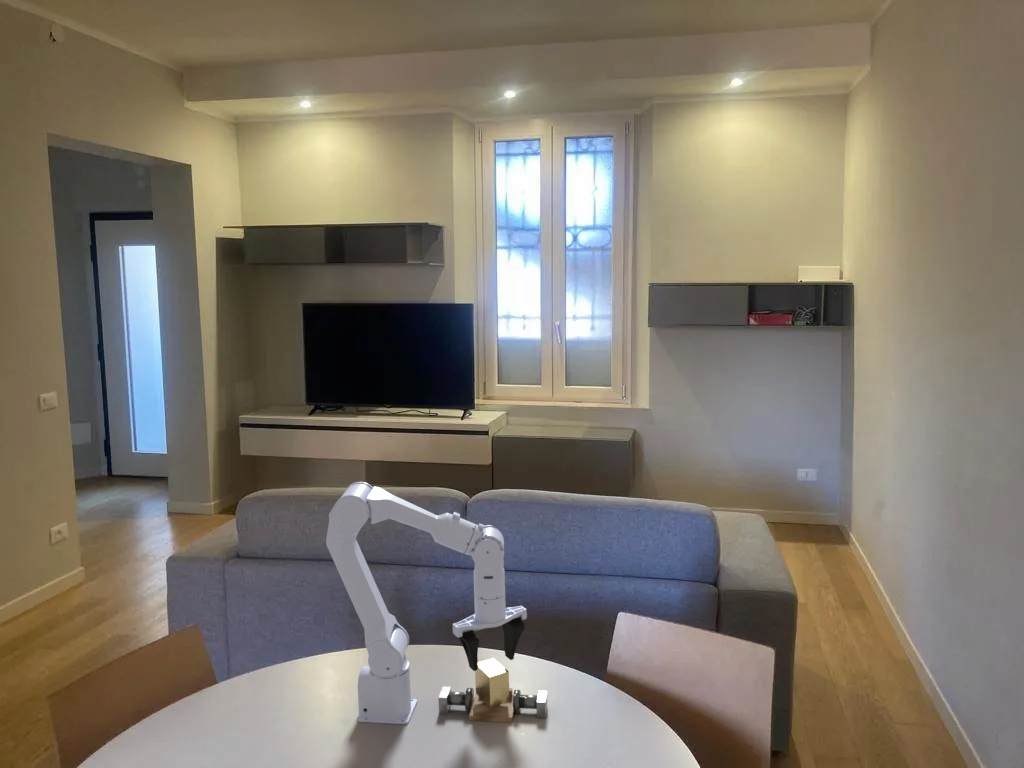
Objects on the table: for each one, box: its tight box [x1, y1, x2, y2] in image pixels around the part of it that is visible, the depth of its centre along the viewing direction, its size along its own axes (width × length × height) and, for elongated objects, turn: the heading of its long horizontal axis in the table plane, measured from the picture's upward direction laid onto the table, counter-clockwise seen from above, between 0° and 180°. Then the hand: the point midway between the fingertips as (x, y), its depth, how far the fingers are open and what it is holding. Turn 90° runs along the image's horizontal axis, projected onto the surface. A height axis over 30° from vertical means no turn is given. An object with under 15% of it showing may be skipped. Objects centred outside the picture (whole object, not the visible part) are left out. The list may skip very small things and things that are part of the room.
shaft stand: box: [438, 686, 548, 724], centre depth 150 cm, size 20×8×4 cm, turn 83°
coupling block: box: [474, 657, 510, 708], centre depth 150 cm, size 6×4×6 cm, turn 29°
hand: (491, 662), depth 149 cm, fingers open, 7 cm apart
